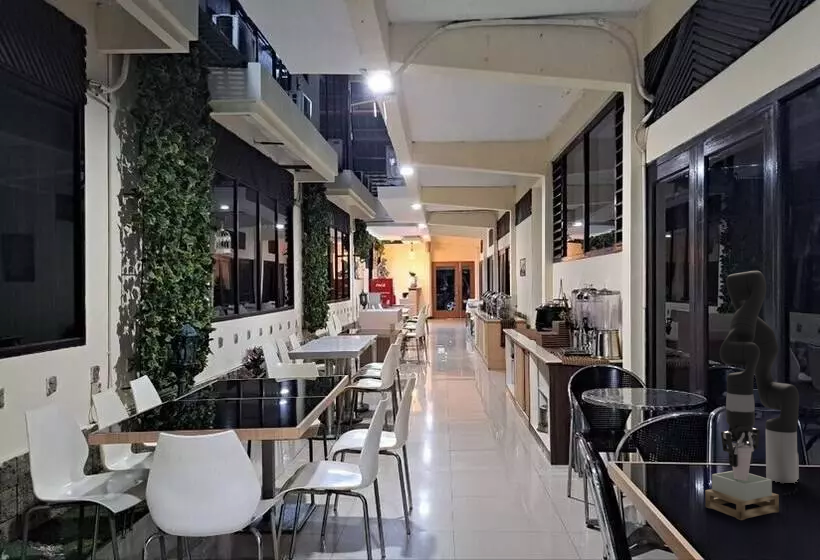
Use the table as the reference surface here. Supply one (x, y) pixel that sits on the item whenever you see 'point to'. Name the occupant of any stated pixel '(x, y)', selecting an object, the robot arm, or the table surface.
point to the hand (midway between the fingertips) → (740, 464)
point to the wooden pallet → (741, 504)
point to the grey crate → (742, 486)
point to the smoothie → (743, 462)
